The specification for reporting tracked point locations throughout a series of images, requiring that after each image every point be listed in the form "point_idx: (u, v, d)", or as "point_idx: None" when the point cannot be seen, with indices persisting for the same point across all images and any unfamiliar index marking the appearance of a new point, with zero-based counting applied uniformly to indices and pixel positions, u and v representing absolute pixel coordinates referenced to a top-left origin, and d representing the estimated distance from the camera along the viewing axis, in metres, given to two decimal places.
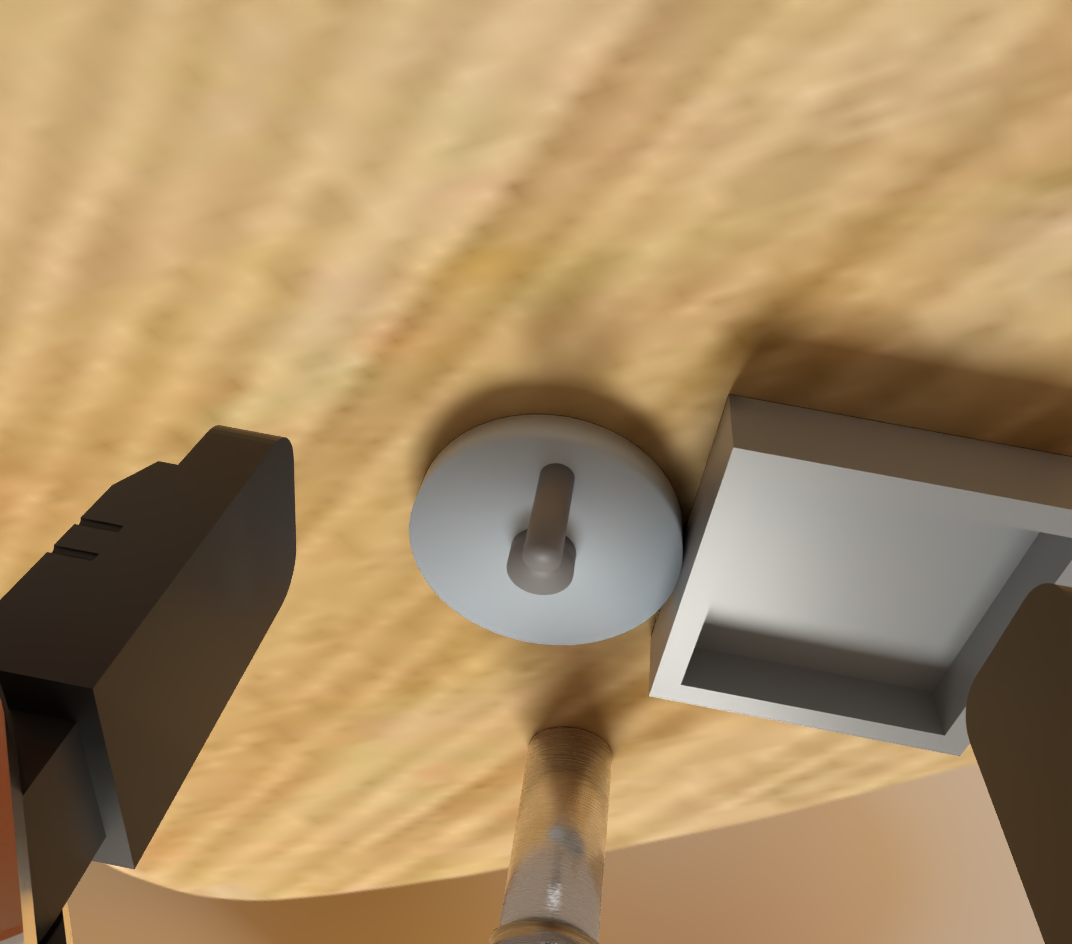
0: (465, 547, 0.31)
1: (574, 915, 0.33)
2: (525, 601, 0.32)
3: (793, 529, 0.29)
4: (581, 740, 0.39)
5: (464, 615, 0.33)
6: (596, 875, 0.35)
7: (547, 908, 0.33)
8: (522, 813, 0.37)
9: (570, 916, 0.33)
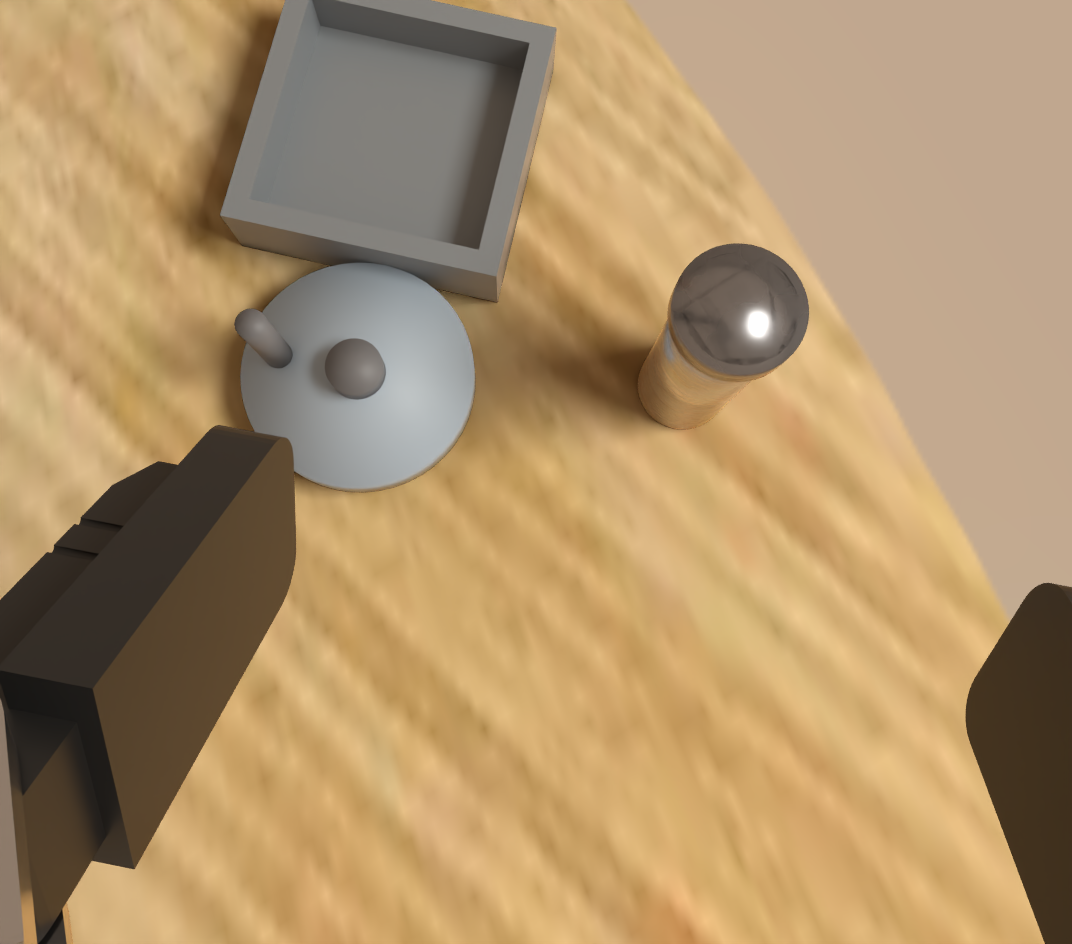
0: (352, 439, 0.36)
1: None
2: (417, 393, 0.36)
3: (346, 188, 0.38)
4: (642, 367, 0.38)
5: (437, 451, 0.36)
6: None
7: None
8: (673, 398, 0.34)
9: None
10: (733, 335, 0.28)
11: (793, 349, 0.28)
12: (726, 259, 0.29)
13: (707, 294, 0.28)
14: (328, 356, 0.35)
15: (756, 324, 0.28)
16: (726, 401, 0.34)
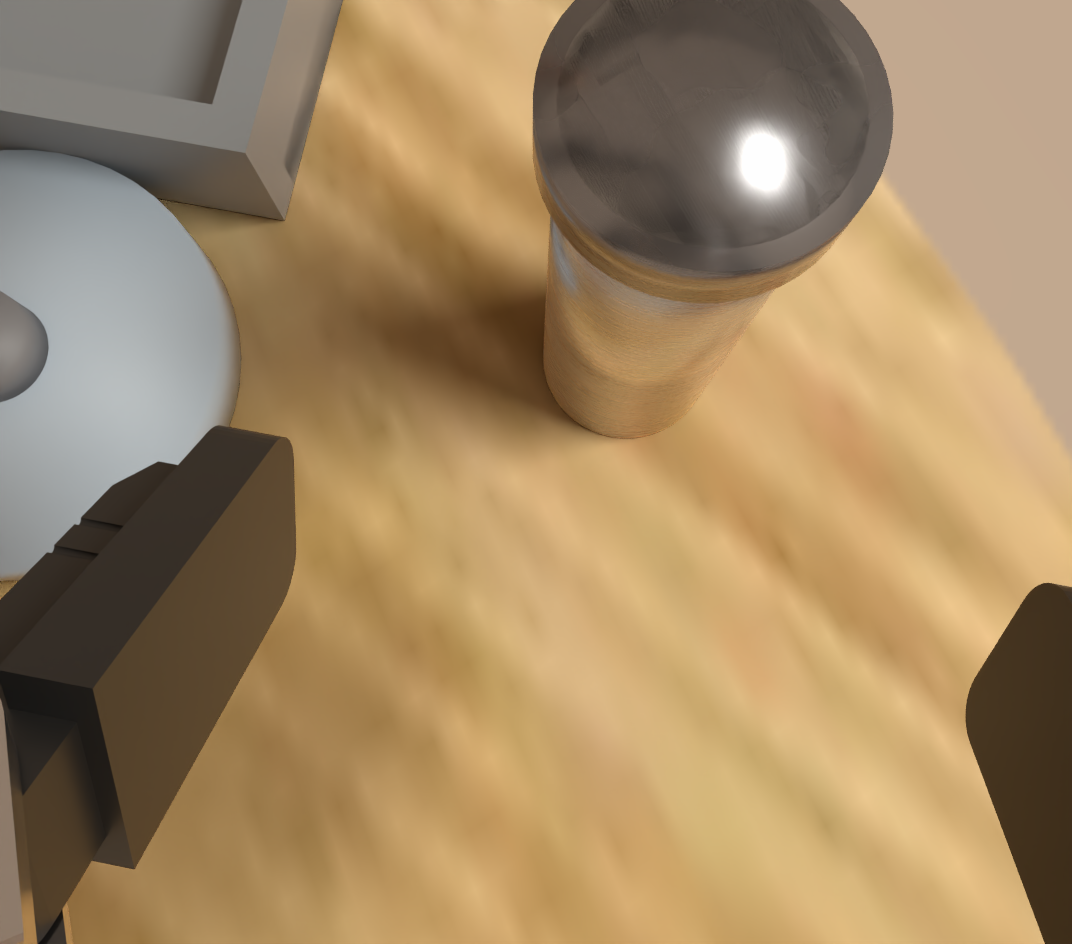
0: None
1: None
2: (108, 386, 0.19)
3: (2, 25, 0.21)
4: None
5: None
6: None
7: None
8: (591, 372, 0.16)
9: None
10: (695, 172, 0.11)
11: (858, 202, 0.10)
12: None
13: (623, 73, 0.11)
14: None
15: (755, 143, 0.11)
16: (702, 373, 0.16)
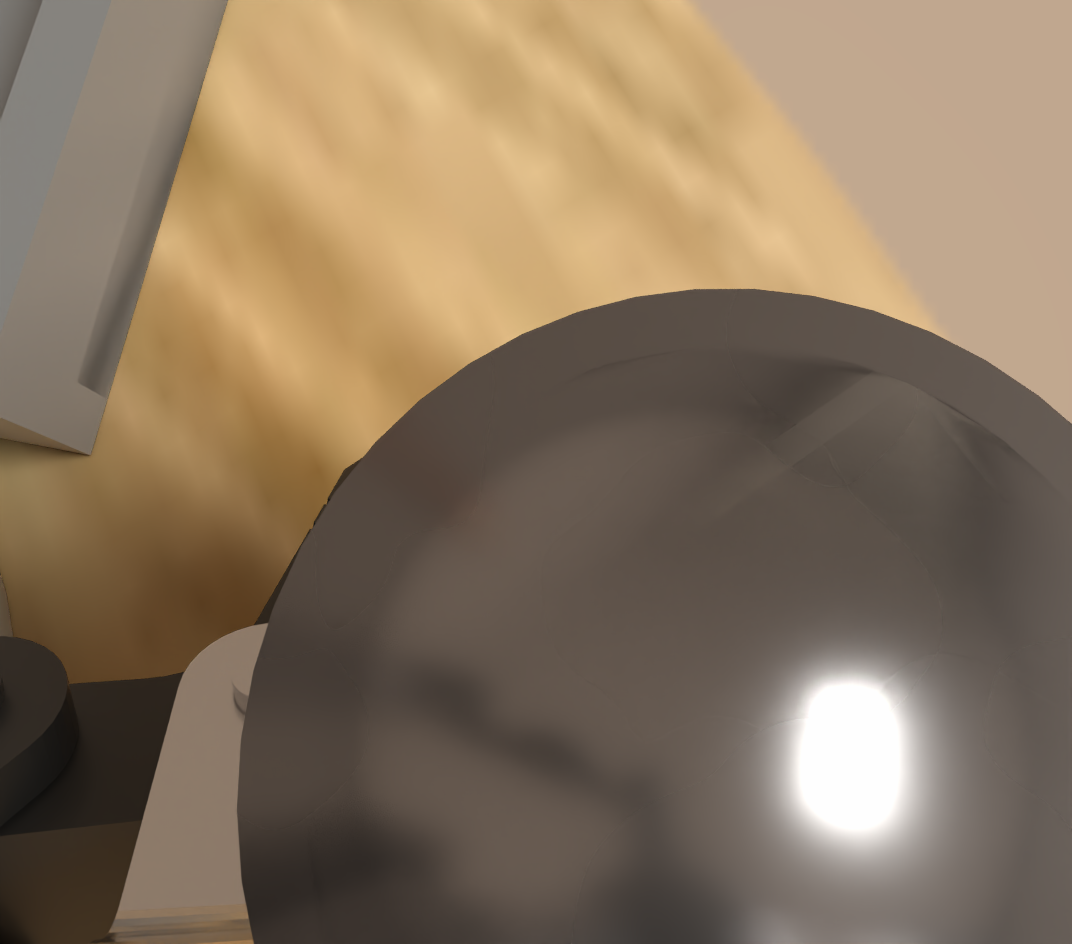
0: None
1: None
2: None
3: None
4: None
5: None
6: None
7: None
8: None
9: None
10: None
11: None
12: (632, 400, 0.04)
13: (498, 675, 0.04)
14: None
15: (874, 900, 0.04)
16: None
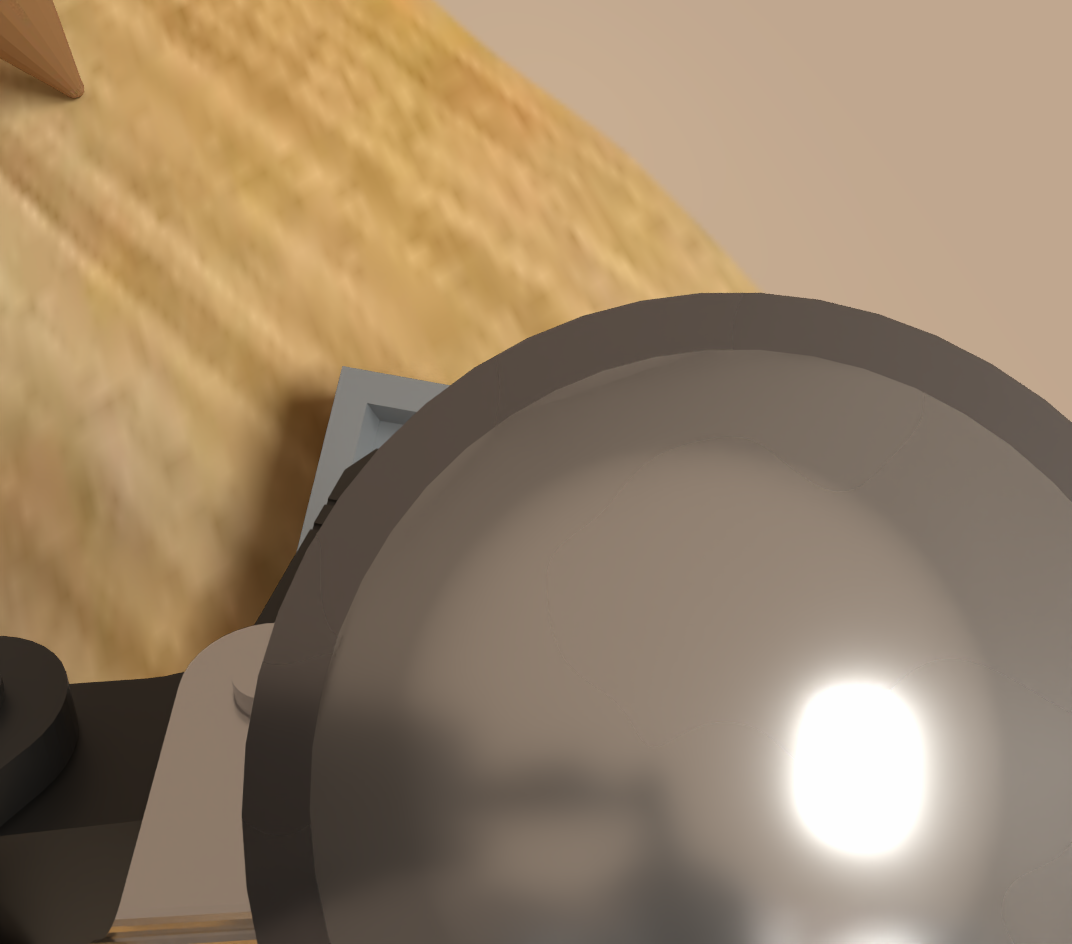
0: None
1: None
2: None
3: None
4: None
5: None
6: None
7: None
8: None
9: None
10: None
11: None
12: (638, 404, 0.04)
13: (505, 679, 0.04)
14: None
15: (881, 907, 0.04)
16: None
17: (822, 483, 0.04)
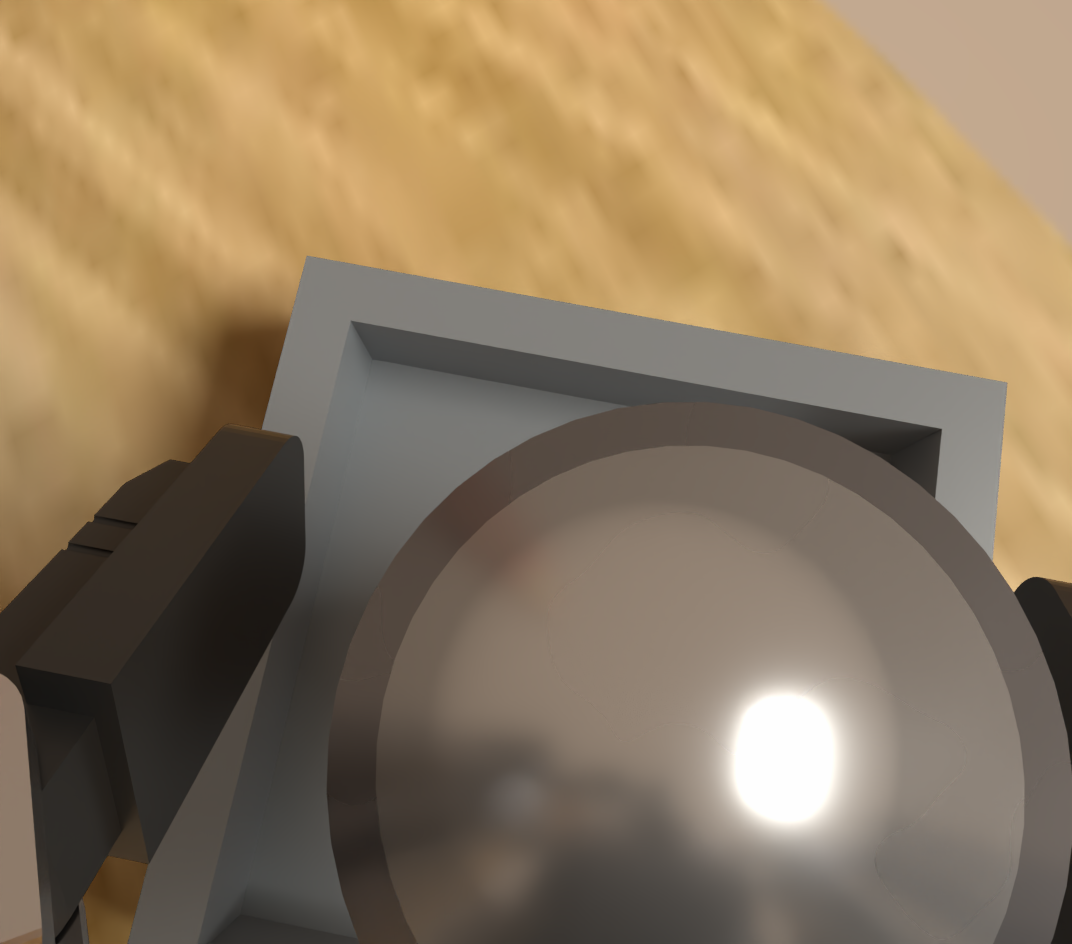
0: None
1: None
2: None
3: None
4: None
5: None
6: None
7: None
8: None
9: None
10: (661, 932, 0.05)
11: None
12: (615, 487, 0.06)
13: (516, 692, 0.05)
14: None
15: (788, 857, 0.05)
16: None
17: (751, 547, 0.05)
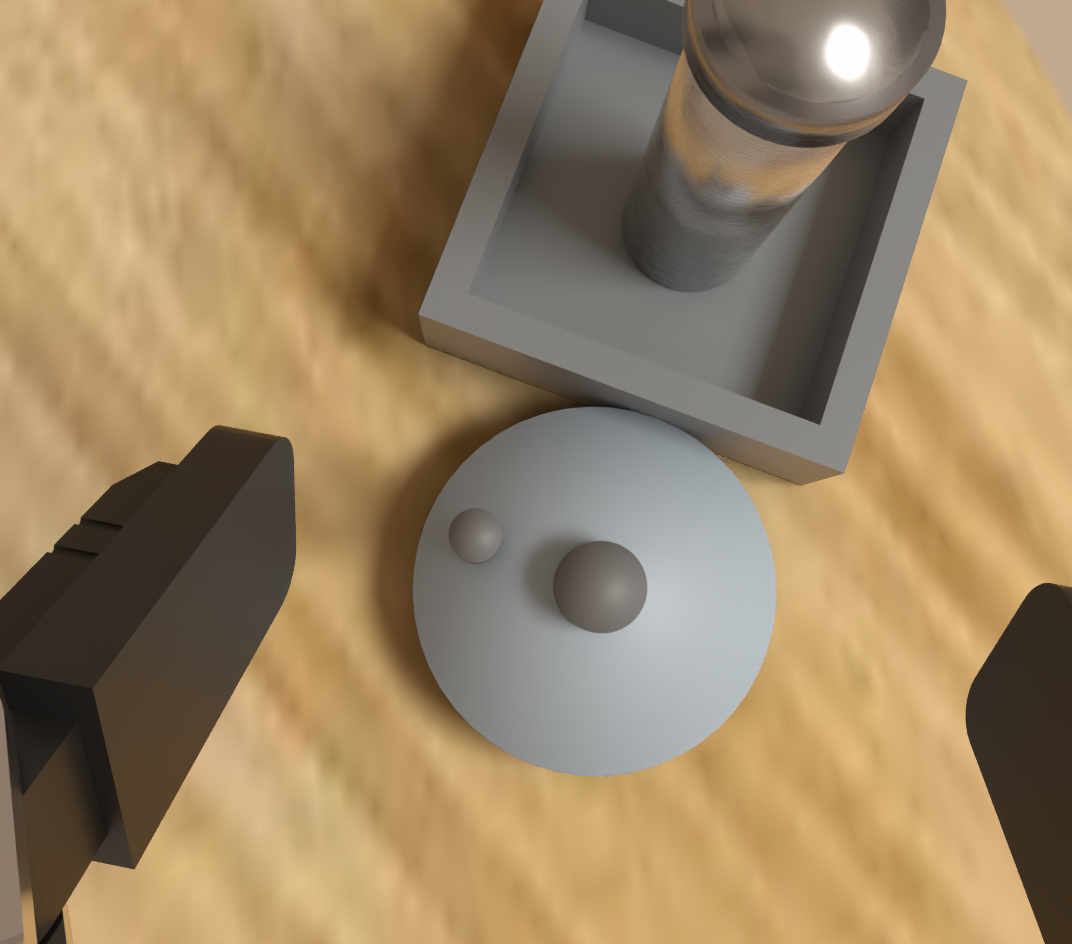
0: (579, 694, 0.23)
1: None
2: (686, 632, 0.23)
3: (601, 282, 0.25)
4: None
5: (709, 731, 0.23)
6: None
7: None
8: (672, 215, 0.21)
9: None
10: (799, 45, 0.15)
11: (907, 87, 0.15)
12: None
13: None
14: (563, 566, 0.22)
15: (845, 32, 0.15)
16: (758, 229, 0.20)
17: None
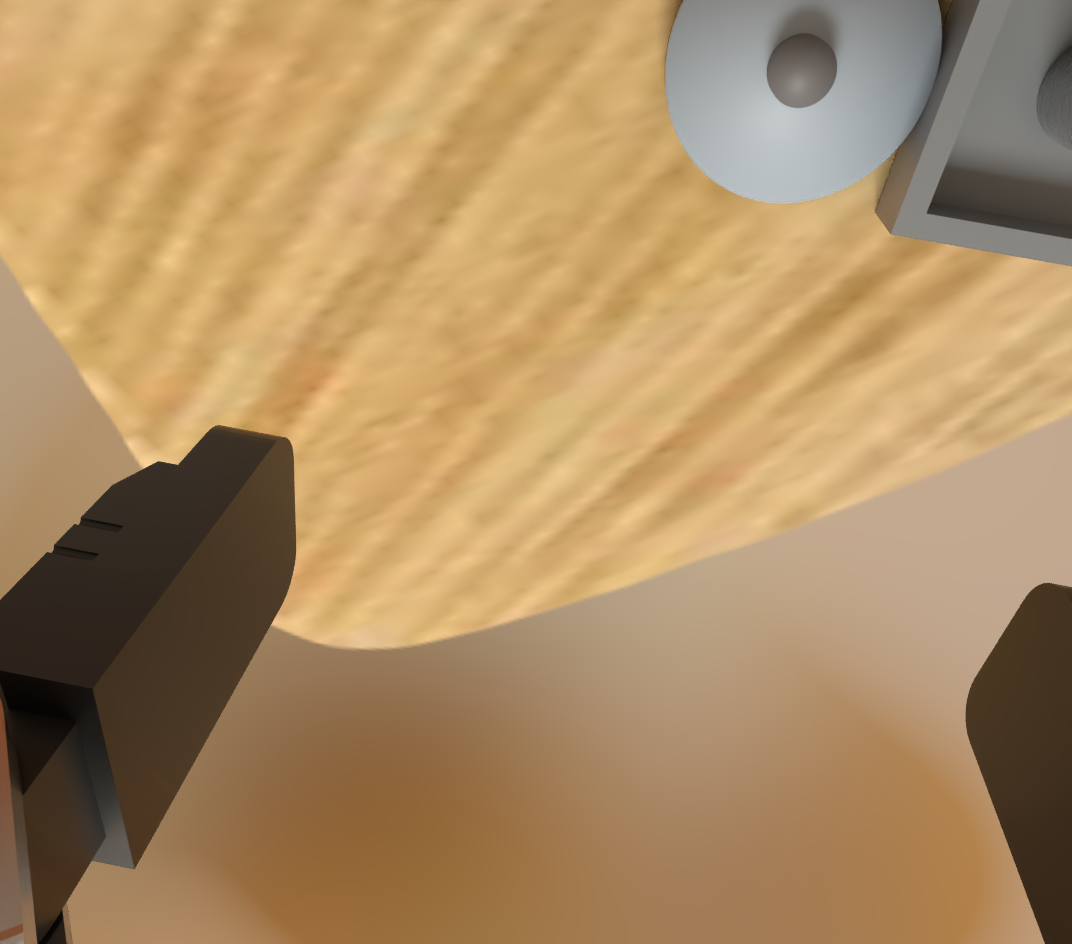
0: (720, 71, 0.32)
1: None
2: (770, 142, 0.33)
3: (1051, 23, 0.30)
4: None
5: (703, 169, 0.34)
6: None
7: None
8: None
9: None
10: None
11: None
12: None
13: None
14: (816, 39, 0.30)
15: None
16: None
17: None
